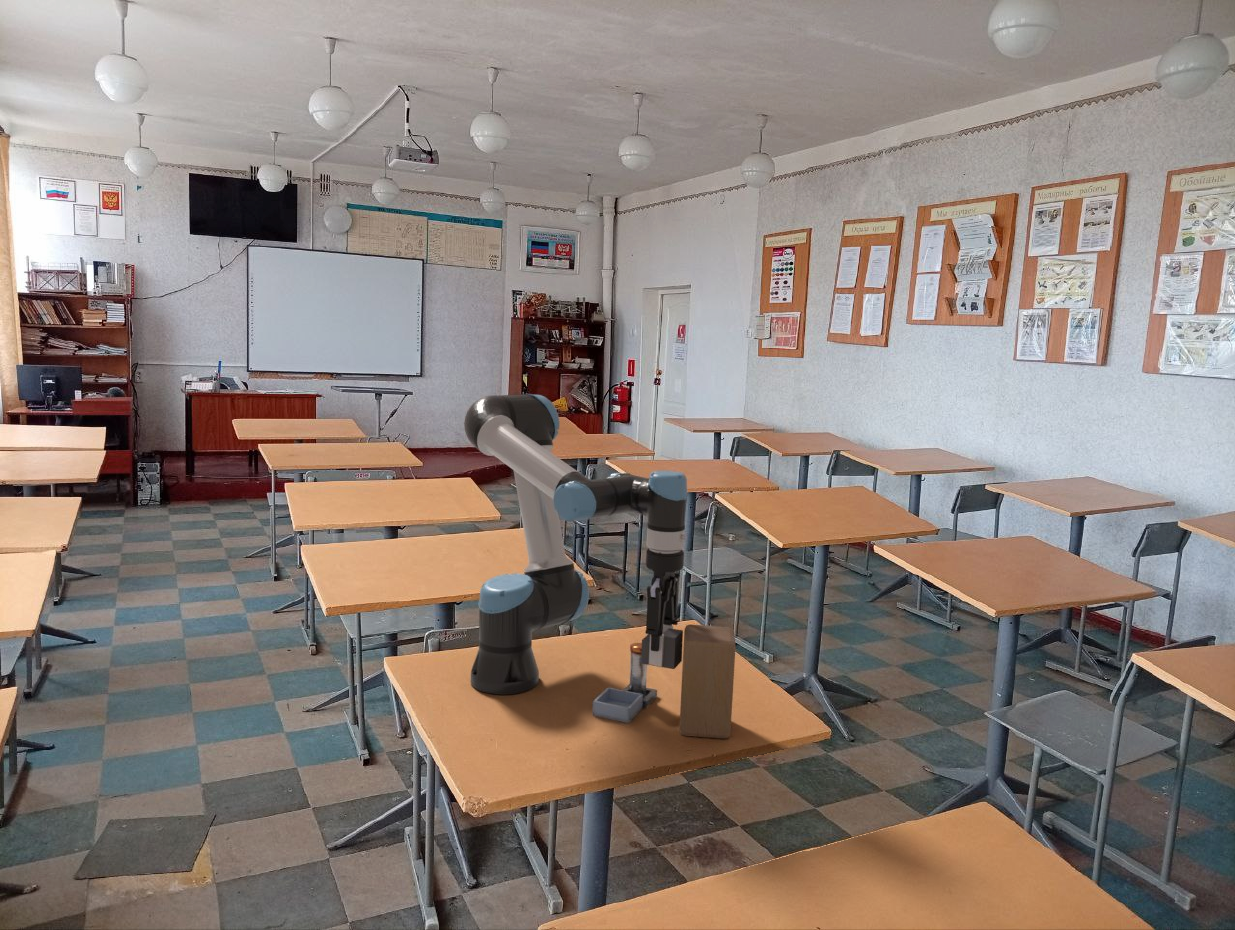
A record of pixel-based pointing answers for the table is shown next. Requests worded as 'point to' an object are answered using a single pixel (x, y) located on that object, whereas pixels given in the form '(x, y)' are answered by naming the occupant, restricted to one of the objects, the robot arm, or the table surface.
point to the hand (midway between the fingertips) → (660, 659)
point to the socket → (647, 696)
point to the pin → (637, 670)
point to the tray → (617, 704)
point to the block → (707, 681)
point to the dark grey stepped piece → (666, 648)
